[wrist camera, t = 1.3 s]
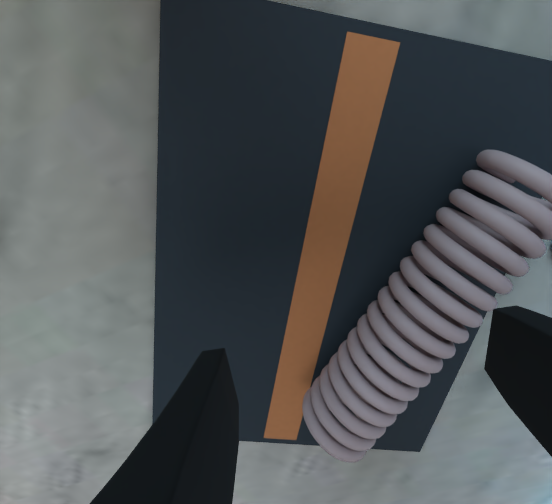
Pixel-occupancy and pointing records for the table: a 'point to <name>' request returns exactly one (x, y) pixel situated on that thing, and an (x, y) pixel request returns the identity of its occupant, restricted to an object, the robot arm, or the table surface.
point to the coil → (430, 304)
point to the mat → (313, 189)
